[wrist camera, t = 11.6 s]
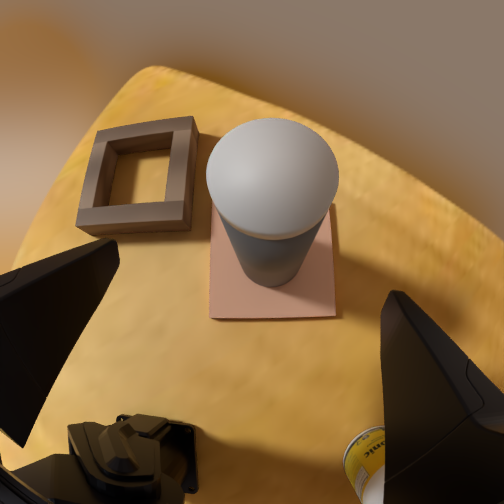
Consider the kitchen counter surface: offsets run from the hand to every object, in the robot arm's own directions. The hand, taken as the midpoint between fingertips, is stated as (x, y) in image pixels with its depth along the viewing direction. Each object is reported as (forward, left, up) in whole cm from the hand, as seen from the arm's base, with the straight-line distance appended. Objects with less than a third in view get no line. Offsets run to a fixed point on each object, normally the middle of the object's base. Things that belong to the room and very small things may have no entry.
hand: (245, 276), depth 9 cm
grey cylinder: (+4, -1, -12) cm, 13 cm away
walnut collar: (+11, +10, -13) cm, 20 cm away
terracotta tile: (+4, -1, -13) cm, 14 cm away
